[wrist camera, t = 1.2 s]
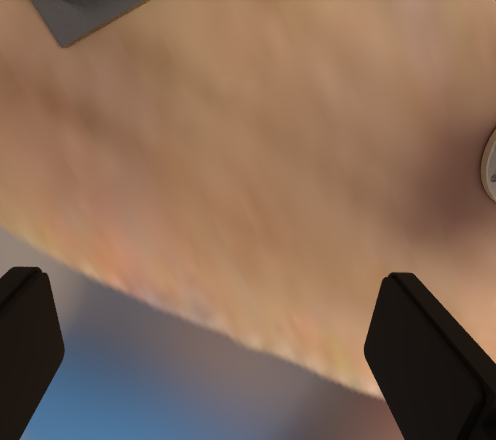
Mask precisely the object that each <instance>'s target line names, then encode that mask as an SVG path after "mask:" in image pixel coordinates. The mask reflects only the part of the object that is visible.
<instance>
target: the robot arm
mask: <svg viewBox="0 0 496 440" xmlns="http://www.w3.org/2000/svg"><path fill="white" fill-rule="evenodd" d="M481 180H482V183H483V186H484V189H485V191H486V192H487V194H488V195H489V197H490V198H491V199H493V200H494V201H495V202H496V129H495V131H494V132H493V134H492V135H491V137H490V139H489V141H488V143H487V145H486V148H485V150H484V154H483V157H482V162H481ZM64 351H65V350H64V343H63V339H62V334H61V330H60V325H59V321H58V316H57V312H56V308H55V303H54V299H53V294H52V290H51V285H50V281H49V277H48V275H47V273H42V271H41V269H40V268H38V267H13V268H11V269H10V270H9V271H8V272H7V273H6V274H4V275H3V276H2V277H1V278H0V440H19V439H20V438H21V435H22V434H23V432H24V430H25V428H26V426H27V425H28V423H29V421H30V419H31V417H32V415H33V414H34V412H35V410H36V408H37V406H38V404H39V403H40V401H41V399H42V397H43V395H44V394H45V392H46V390H47V388H48V386H49V384H50V383H51V381H52V379H53V377H54V375H55V373H56V371H57V370H58V368H59V366H60V364H61V362H62V360H63V357H64ZM364 355H365V358H366V361H367V363H368V365H369V367H370V369H371V371H372V373H373V375H374V377H375V379H376V381H377V383H378V385H379V387H380V390H381V392H382V394H383V396H384V398H385V400H386V402H387V404H388V406H389V408H390V410H391V412H392V414H393V416H394V418H395V421H396V422H397V425H398V427H399V429H400V431H401V433H402V435H403V437H404V439H405V440H496V364H495V363H494V361H493V360H492V359H491V358H490V357H489V356H488V355H487V354H486V353H485V352H484V350H483V349H482V348H481V347H480V346H479V345H478V344H477V343H476V342H475V341H474V339H473V338H472V337H471V336H470V335H469V334H468V333H467V332H466V331H465V330H464V329H463V327H462V326H461V325H460V324H459V323H458V322H457V321H456V320H455V319H454V318H453V316H452V315H451V314H450V313H449V312H448V311H447V310H446V309H445V308H444V307H443V305H442V304H441V303H440V302H439V301H438V300H437V299H436V298H435V297H434V296H433V294H432V293H431V292H430V291H429V290H428V289H427V288H426V287H425V286H424V285H423V284H422V282H421V281H420V280H419V279H418V278H417V277H416V276H415V275H414V274H413V273H397V272H392V273H390V274H389V275H388V277H385V278H384V279H383V280H382V283H381V287H380V291H379V294H378V298H377V301H376V305H375V309H374V312H373V316H372V319H371V323H370V327H369V330H368V334H367V337H366V341H365V345H364Z"/></svg>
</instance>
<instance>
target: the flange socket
mask: <svg viewBox="0 0 496 440" xmlns="http://www.w3.org/2000/svg"><path fill="white" fill-rule="evenodd" d="M31 1H32V2H33V4H34V5H35V7H36V9H37V10H38V12H39V13H40V15H41V16H42V18H43V19H44V21H45V22H46V24H47V26H48V27H49V29H50V30H51V32H52V33H53V35H54V36H55V38H56V40H57V41H58V43H59V44H60V46H61V47H62V48H68V47H69V46H71V45H73V44H75V43H76V42H78V41H80V40H82V39H83V38H85V37H87V36H89V35H90V34H92V33H94V32H96V31H97V30H99V29H101V28H102V27H104V26H106V25H108V24H109V23H111V22H113V21H115V20H116V19H118V18H120V17H122V16H123V15H125V14H127V13H129V12H130V11H132V10H134V9H136V8H137V7H139V6H141V5H143V4H144V3H146V2H148V1H150V0H31Z"/></svg>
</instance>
